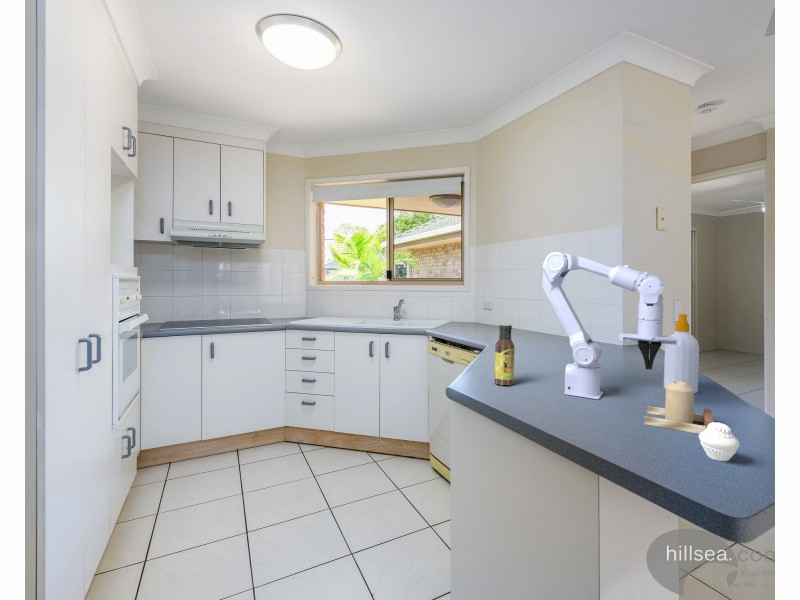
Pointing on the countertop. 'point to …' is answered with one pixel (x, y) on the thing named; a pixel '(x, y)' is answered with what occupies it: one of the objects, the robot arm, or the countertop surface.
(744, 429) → the countertop surface
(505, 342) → the sauce bottle
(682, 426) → the channel
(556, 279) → the robot arm
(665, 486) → the countertop surface
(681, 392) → the candle
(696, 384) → the soap bottle
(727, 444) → the muffin
